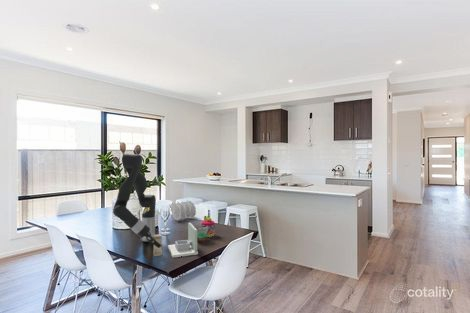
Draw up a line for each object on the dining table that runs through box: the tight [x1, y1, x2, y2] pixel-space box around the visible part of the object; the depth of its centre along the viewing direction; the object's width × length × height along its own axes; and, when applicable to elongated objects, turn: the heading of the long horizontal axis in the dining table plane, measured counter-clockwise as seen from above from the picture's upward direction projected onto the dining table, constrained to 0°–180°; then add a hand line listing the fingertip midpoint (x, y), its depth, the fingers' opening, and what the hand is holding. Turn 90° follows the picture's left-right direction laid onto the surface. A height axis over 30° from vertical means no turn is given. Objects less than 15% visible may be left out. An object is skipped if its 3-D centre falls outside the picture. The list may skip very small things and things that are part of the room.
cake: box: [200, 215, 216, 238], centre depth 212 cm, size 10×11×15 cm
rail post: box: [152, 233, 163, 257], centre depth 172 cm, size 4×4×12 cm
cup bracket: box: [167, 222, 199, 258], centre depth 179 cm, size 20×16×16 cm
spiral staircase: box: [168, 200, 197, 222], centre depth 266 cm, size 18×18×25 cm
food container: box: [196, 226, 208, 243], centre depth 198 cm, size 12×6×10 cm, turn 126°
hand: (159, 244), depth 172 cm, fingers open, 8 cm apart
